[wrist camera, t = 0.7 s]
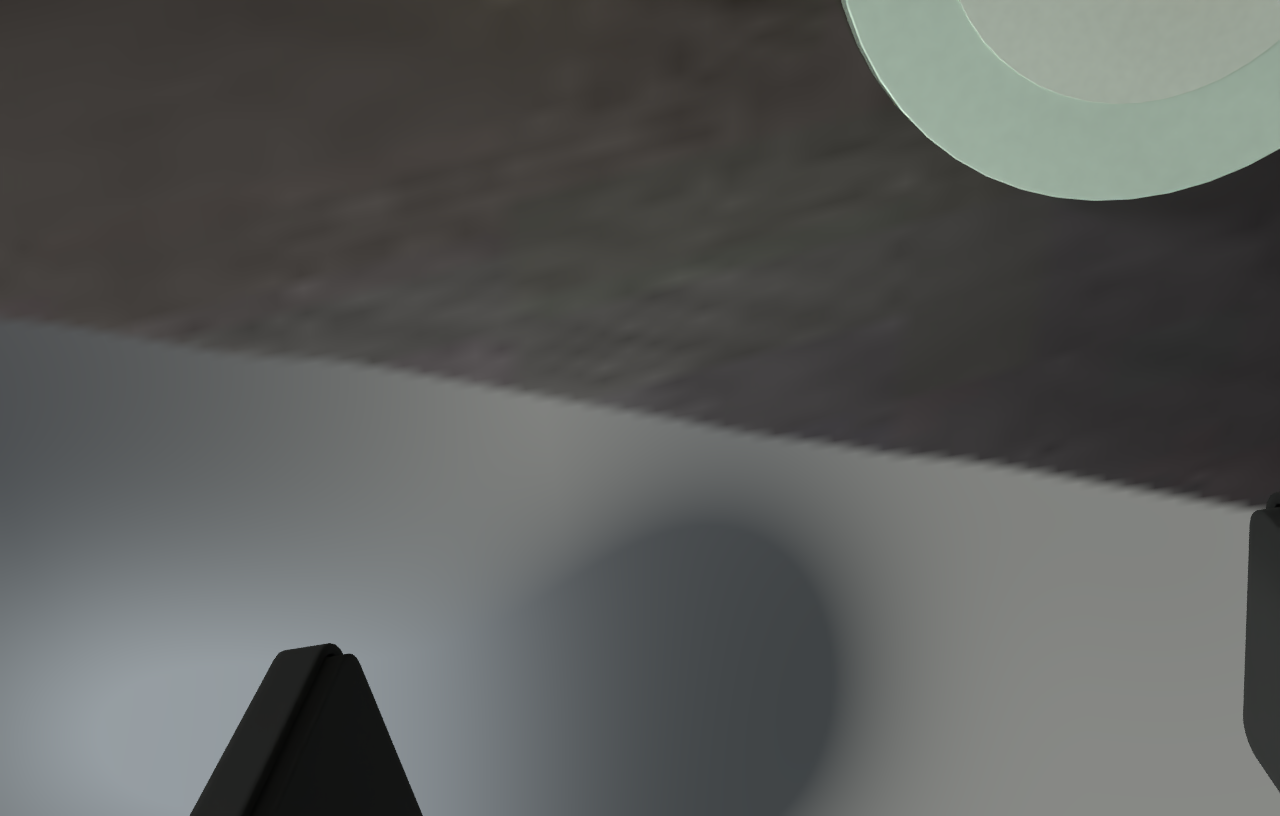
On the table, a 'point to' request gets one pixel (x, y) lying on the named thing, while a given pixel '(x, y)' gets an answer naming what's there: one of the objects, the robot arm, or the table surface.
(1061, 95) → the plate
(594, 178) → the table surface
